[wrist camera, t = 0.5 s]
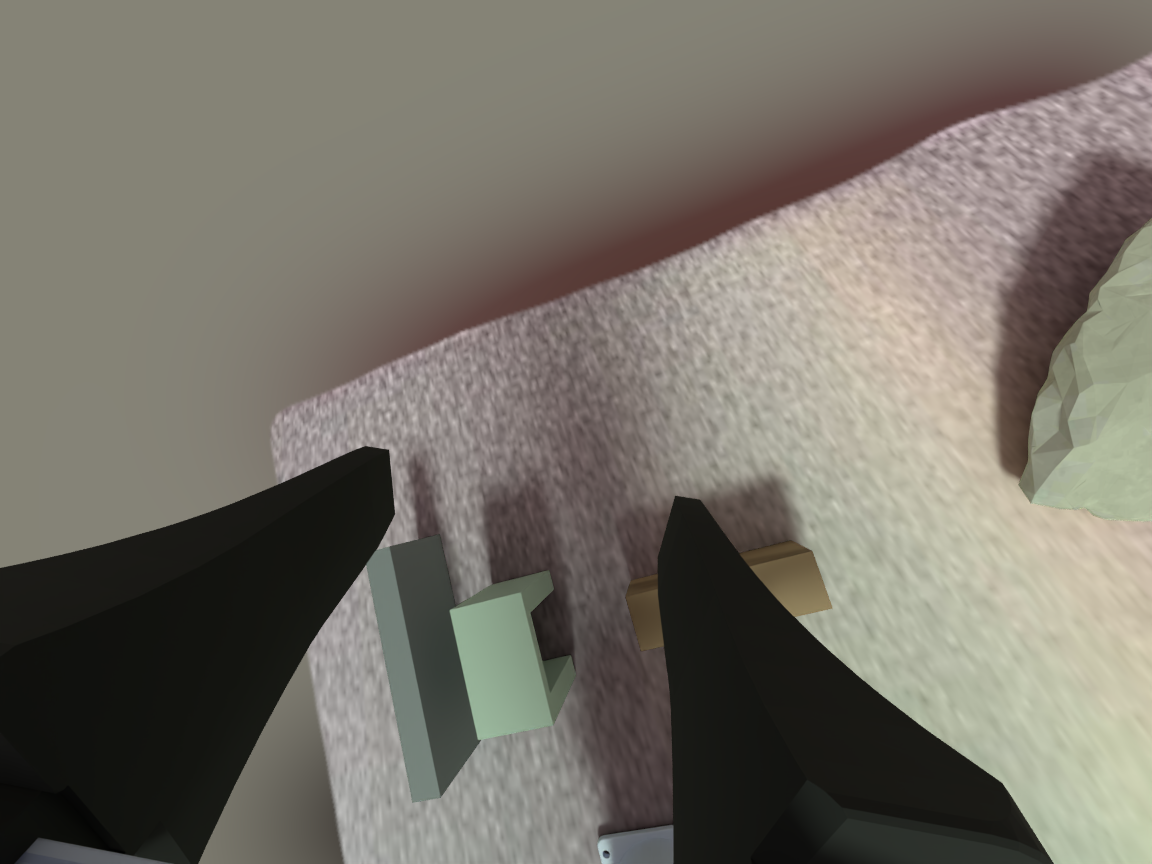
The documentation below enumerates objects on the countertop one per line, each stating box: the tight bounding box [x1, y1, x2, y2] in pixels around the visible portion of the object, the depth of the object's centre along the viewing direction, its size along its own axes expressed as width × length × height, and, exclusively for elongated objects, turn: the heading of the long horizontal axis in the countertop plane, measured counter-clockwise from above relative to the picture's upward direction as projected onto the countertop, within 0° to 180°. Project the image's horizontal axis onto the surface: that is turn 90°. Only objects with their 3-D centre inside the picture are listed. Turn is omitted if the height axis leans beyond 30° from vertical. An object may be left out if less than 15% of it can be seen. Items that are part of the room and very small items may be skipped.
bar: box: [626, 540, 832, 651], centre depth 31 cm, size 4×12×5 cm, turn 106°
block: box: [450, 570, 576, 740], centre depth 32 cm, size 8×5×7 cm, turn 16°
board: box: [366, 534, 481, 803], centre depth 33 cm, size 16×2×7 cm, turn 16°
